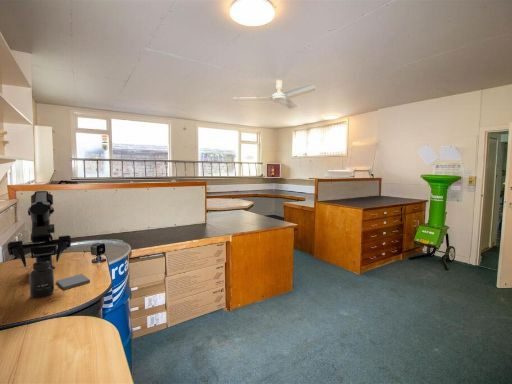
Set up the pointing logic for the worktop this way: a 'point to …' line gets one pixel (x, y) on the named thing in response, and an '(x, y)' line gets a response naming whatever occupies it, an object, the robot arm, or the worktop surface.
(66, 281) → the coaster
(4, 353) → the worktop surface
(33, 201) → the robot arm
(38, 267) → the supplement bottle
